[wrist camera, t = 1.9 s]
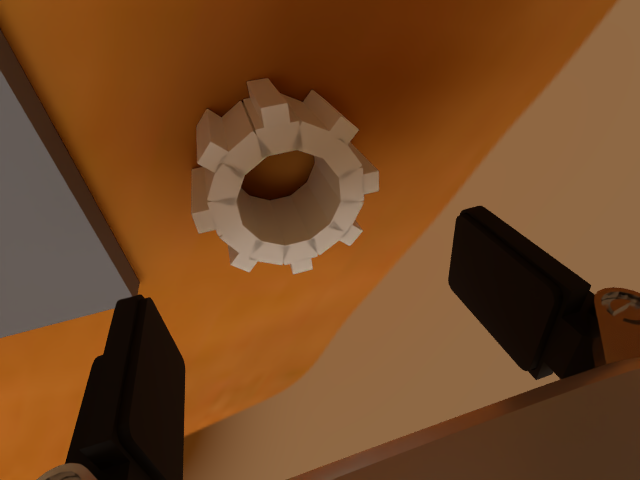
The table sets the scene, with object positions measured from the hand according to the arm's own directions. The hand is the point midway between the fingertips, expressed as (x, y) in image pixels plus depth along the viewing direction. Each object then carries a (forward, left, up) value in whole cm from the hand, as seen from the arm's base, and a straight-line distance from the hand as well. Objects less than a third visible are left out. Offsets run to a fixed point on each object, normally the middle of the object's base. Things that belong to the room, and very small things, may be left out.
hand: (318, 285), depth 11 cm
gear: (-1, 0, -8) cm, 8 cm away
